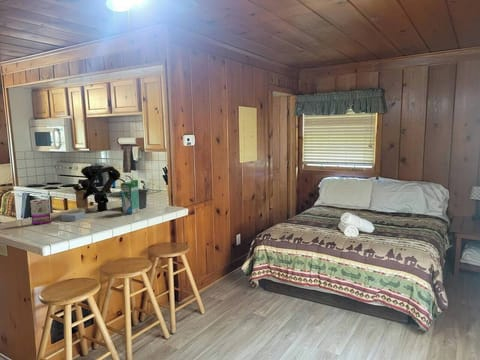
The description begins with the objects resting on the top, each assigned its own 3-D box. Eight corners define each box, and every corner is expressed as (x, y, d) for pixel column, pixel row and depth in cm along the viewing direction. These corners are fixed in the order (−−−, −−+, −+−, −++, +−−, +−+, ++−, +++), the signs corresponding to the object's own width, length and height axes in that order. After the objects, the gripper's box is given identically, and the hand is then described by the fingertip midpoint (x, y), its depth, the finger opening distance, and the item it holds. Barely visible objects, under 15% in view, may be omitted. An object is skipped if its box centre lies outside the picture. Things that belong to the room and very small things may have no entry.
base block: (72, 217, 259) (71, 211, 258) (85, 218, 256) (85, 212, 256) (61, 221, 248) (61, 214, 247) (75, 221, 246) (75, 215, 245)
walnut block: (82, 206, 263) (80, 190, 262) (88, 206, 261) (87, 190, 260) (76, 207, 258) (75, 191, 256) (82, 208, 256) (81, 191, 255)
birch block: (84, 211, 277) (83, 201, 276) (88, 212, 275) (87, 202, 274) (78, 213, 273) (77, 202, 272) (82, 213, 271) (82, 203, 270)
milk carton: (122, 213, 268) (120, 180, 265) (130, 211, 276) (128, 179, 273) (132, 214, 264) (130, 181, 261) (139, 211, 273) (137, 179, 270)
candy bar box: (51, 221, 245) (49, 198, 243) (50, 223, 241) (48, 199, 239) (32, 223, 240) (30, 199, 238) (31, 225, 236) (29, 201, 234)
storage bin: (119, 208, 288) (117, 191, 286) (131, 204, 302) (130, 188, 300) (140, 210, 280) (139, 192, 278) (152, 206, 294) (151, 189, 292)
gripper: (73, 174, 263) (63, 191, 254) (94, 175, 257) (84, 192, 248) (82, 183, 272) (72, 200, 263) (102, 184, 266) (93, 201, 257)
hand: (80, 198), depth 258 cm, fingers closed on walnut block, 5 cm apart
